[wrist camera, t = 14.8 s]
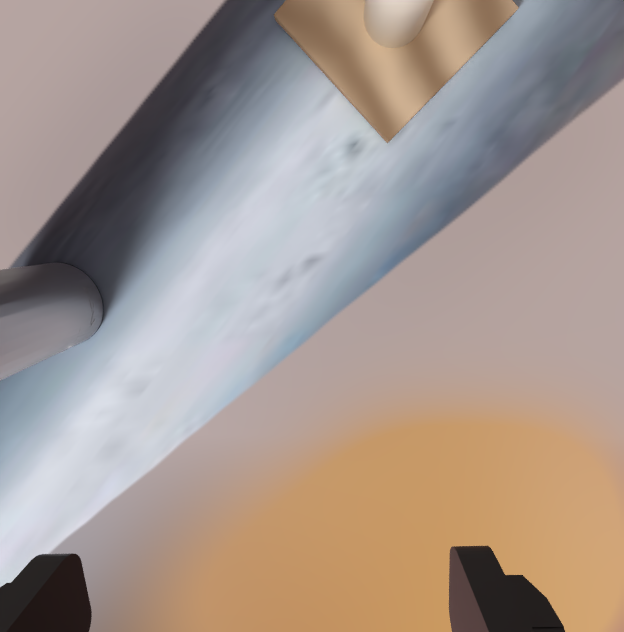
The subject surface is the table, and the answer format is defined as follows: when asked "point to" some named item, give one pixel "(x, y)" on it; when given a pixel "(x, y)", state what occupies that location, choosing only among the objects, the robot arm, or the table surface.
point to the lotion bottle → (395, 20)
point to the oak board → (391, 52)
